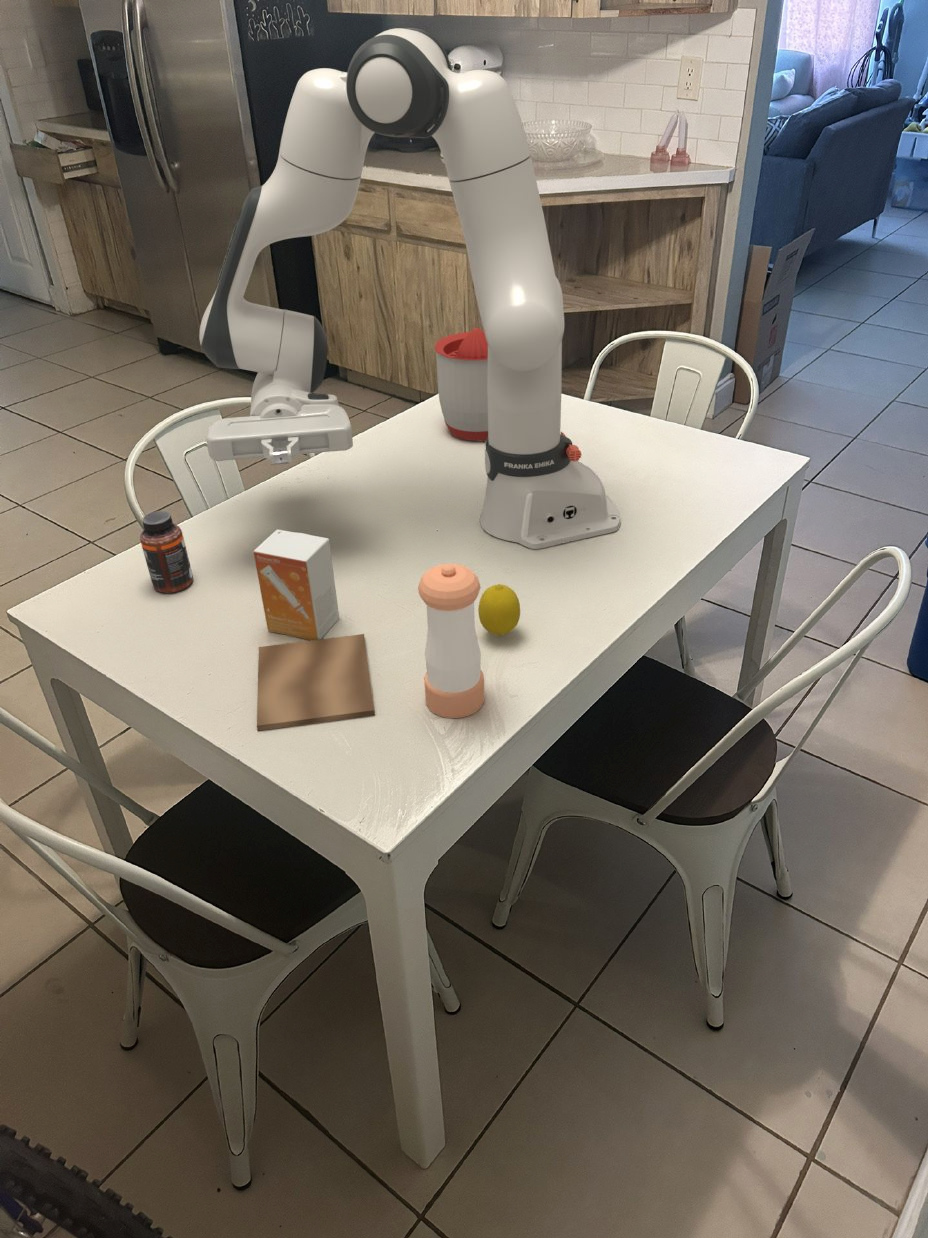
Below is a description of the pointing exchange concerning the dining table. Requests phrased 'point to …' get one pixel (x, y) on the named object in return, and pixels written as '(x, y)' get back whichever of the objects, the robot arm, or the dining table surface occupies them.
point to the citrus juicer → (464, 383)
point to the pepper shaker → (452, 641)
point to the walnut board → (313, 682)
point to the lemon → (499, 609)
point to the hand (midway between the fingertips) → (280, 459)
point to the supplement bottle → (165, 553)
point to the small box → (297, 584)
